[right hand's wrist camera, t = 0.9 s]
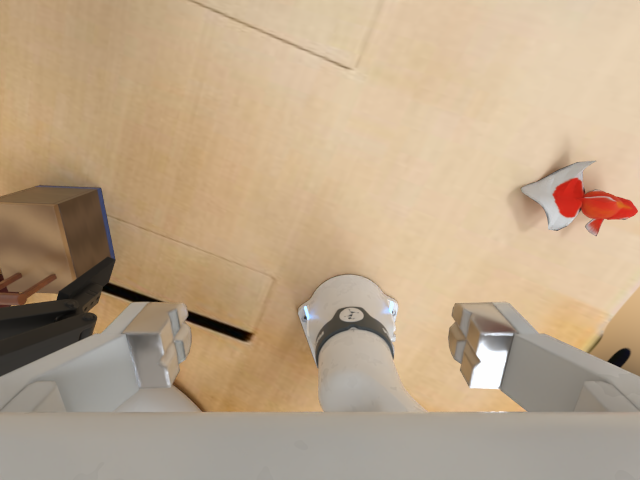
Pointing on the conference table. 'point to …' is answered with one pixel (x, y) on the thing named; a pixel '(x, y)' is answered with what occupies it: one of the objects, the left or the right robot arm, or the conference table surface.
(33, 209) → the lid
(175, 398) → the white rounded block
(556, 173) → the fish
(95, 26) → the conference table surface
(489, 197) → the conference table surface
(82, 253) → the chest
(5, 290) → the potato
